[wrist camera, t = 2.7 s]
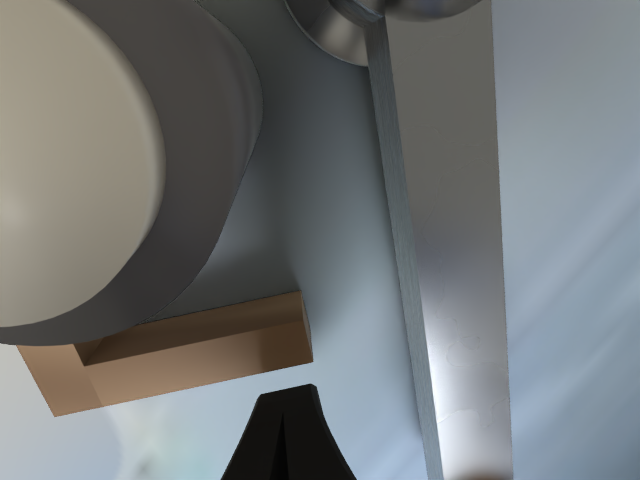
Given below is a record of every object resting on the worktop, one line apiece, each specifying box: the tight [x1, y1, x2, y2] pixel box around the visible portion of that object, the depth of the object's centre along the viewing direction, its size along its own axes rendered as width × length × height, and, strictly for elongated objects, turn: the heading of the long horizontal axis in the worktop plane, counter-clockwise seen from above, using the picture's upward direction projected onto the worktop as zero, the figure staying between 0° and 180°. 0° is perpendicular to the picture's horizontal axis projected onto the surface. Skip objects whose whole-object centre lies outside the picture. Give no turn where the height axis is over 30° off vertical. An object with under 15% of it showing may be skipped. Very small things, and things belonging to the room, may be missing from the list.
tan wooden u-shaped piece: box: [16, 290, 313, 417], centre depth 9 cm, size 13×6×2 cm, turn 11°
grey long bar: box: [327, 0, 513, 480], centre depth 9 cm, size 16×3×3 cm, turn 11°
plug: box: [0, 0, 263, 346], centre depth 7 cm, size 4×4×7 cm
